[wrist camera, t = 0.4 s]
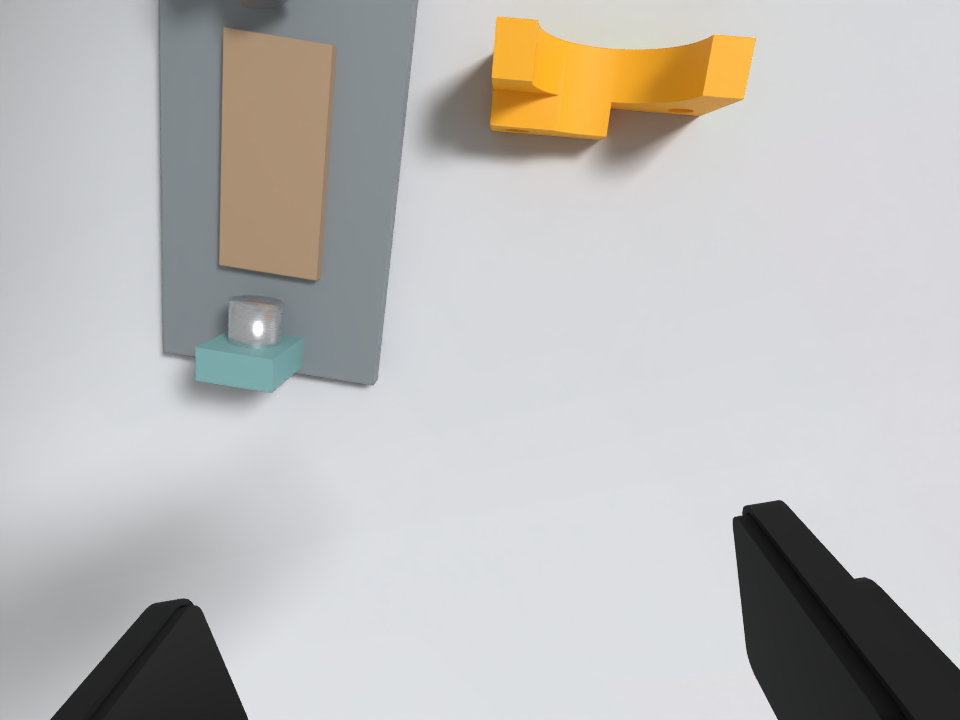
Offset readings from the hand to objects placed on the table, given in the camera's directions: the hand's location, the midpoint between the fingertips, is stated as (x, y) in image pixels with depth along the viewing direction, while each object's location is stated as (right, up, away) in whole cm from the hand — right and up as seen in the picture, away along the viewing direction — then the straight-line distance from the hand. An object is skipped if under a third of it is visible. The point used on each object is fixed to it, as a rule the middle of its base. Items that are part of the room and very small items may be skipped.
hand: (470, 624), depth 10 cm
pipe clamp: (+7, +20, +23) cm, 31 cm away
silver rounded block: (-13, +6, +26) cm, 30 cm away
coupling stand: (-12, +17, +25) cm, 32 cm away
